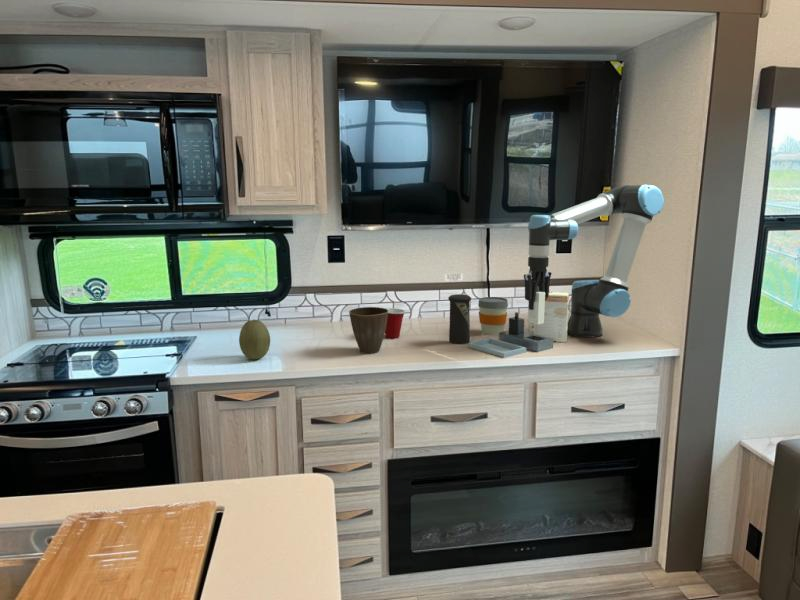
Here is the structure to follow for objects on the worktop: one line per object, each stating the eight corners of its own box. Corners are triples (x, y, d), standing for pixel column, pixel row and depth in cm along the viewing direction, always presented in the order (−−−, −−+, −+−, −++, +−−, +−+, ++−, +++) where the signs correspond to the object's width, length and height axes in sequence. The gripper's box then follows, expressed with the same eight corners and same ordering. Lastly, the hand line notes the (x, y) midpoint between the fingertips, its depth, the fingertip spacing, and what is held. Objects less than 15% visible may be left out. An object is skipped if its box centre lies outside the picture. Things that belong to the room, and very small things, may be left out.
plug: (543, 323, 228) (545, 287, 225) (537, 324, 226) (539, 288, 223) (533, 320, 232) (535, 285, 229) (527, 322, 230) (529, 286, 227)
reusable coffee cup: (485, 338, 248) (486, 303, 245) (472, 331, 260) (473, 297, 257) (512, 335, 252) (513, 301, 249) (498, 329, 263) (499, 296, 261)
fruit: (276, 355, 225) (274, 317, 222) (262, 364, 215) (260, 323, 212) (249, 353, 228) (247, 315, 225) (234, 362, 217) (231, 322, 215)
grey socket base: (514, 339, 245) (515, 309, 243) (553, 350, 229) (554, 317, 227) (498, 343, 240) (499, 312, 237) (537, 354, 224) (538, 320, 222)
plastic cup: (409, 339, 248) (408, 311, 245) (384, 341, 245) (383, 312, 242) (401, 333, 258) (400, 306, 256) (377, 335, 255) (376, 307, 252)
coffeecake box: (567, 338, 246) (569, 292, 243) (565, 342, 240) (568, 295, 236) (530, 335, 251) (532, 290, 248) (528, 340, 245) (529, 293, 241)
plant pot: (375, 358, 220) (375, 316, 217) (342, 353, 227) (341, 312, 224) (395, 349, 233) (395, 309, 230) (363, 344, 240) (362, 305, 237)
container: (464, 347, 234) (465, 297, 231) (444, 344, 239) (444, 295, 235) (473, 342, 242) (474, 294, 238) (454, 339, 246) (454, 292, 243)
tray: (490, 344, 239) (490, 337, 238) (526, 354, 224) (526, 347, 223) (468, 349, 232) (468, 342, 231) (504, 359, 217) (504, 353, 216)
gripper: (545, 254, 232) (542, 312, 236) (515, 257, 222) (513, 318, 226) (560, 255, 226) (557, 315, 230) (531, 258, 216) (529, 321, 220)
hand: (536, 316), depth 228 cm, fingers closed on plug, 3 cm apart
